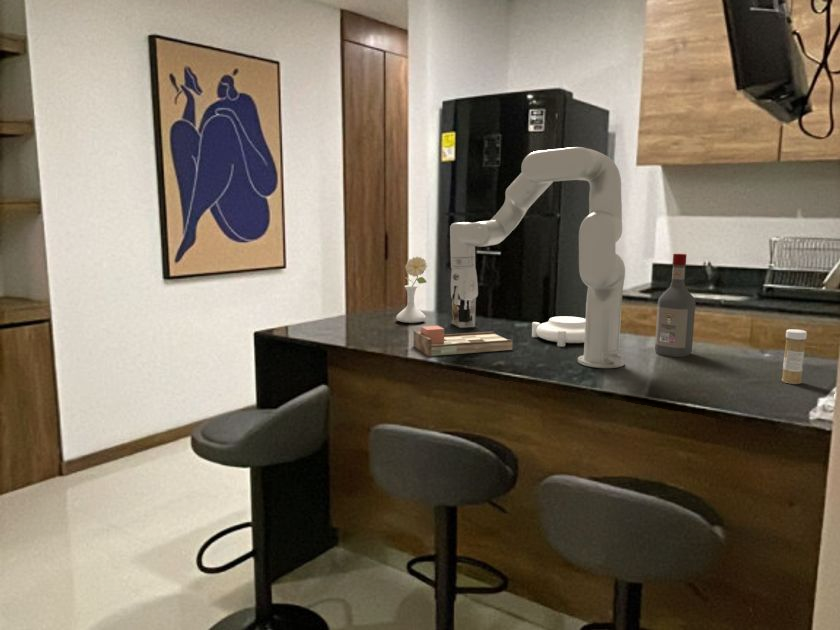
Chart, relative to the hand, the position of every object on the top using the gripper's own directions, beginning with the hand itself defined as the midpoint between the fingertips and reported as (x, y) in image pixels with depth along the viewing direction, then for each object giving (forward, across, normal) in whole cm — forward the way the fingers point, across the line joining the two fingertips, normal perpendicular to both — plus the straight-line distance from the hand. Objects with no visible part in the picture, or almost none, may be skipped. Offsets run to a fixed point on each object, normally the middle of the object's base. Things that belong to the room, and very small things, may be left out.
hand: (464, 321), depth 206 cm
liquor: (+11, +26, -57) cm, 64 cm away
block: (+5, -8, +7) cm, 12 cm away
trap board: (+8, 0, 0) cm, 8 cm away
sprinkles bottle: (+12, +8, -89) cm, 90 cm away
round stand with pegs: (+10, +29, -23) cm, 39 cm away
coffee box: (+8, +33, +18) cm, 39 cm away
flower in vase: (+7, +28, +37) cm, 47 cm away
